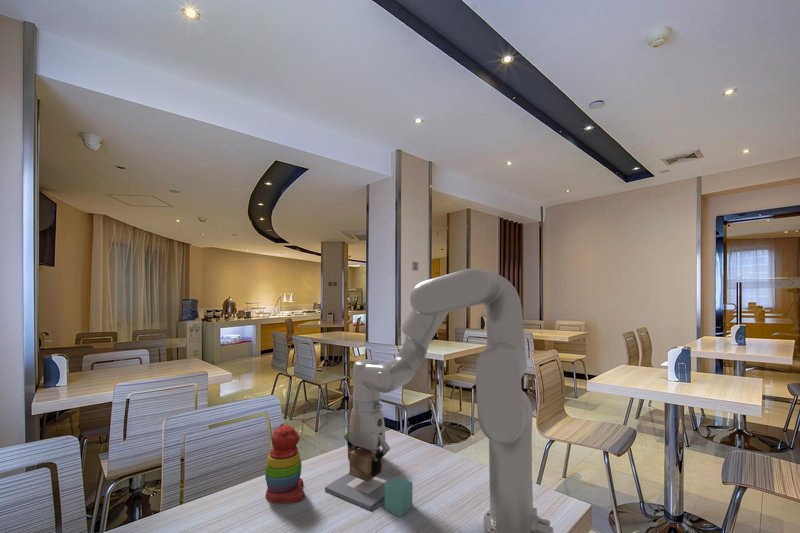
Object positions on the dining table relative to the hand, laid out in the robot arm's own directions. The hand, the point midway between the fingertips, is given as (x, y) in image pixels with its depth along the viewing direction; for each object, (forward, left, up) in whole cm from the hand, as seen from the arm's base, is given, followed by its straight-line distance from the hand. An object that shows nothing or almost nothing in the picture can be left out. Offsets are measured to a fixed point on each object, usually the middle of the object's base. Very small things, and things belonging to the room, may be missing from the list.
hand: (366, 469), depth 104 cm
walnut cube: (0, 0, -1) cm, 1 cm away
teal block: (-13, +3, -5) cm, 14 cm away
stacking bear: (+16, +15, -5) cm, 22 cm away
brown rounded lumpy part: (+14, -13, -5) cm, 20 cm away
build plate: (0, 0, -5) cm, 5 cm away
